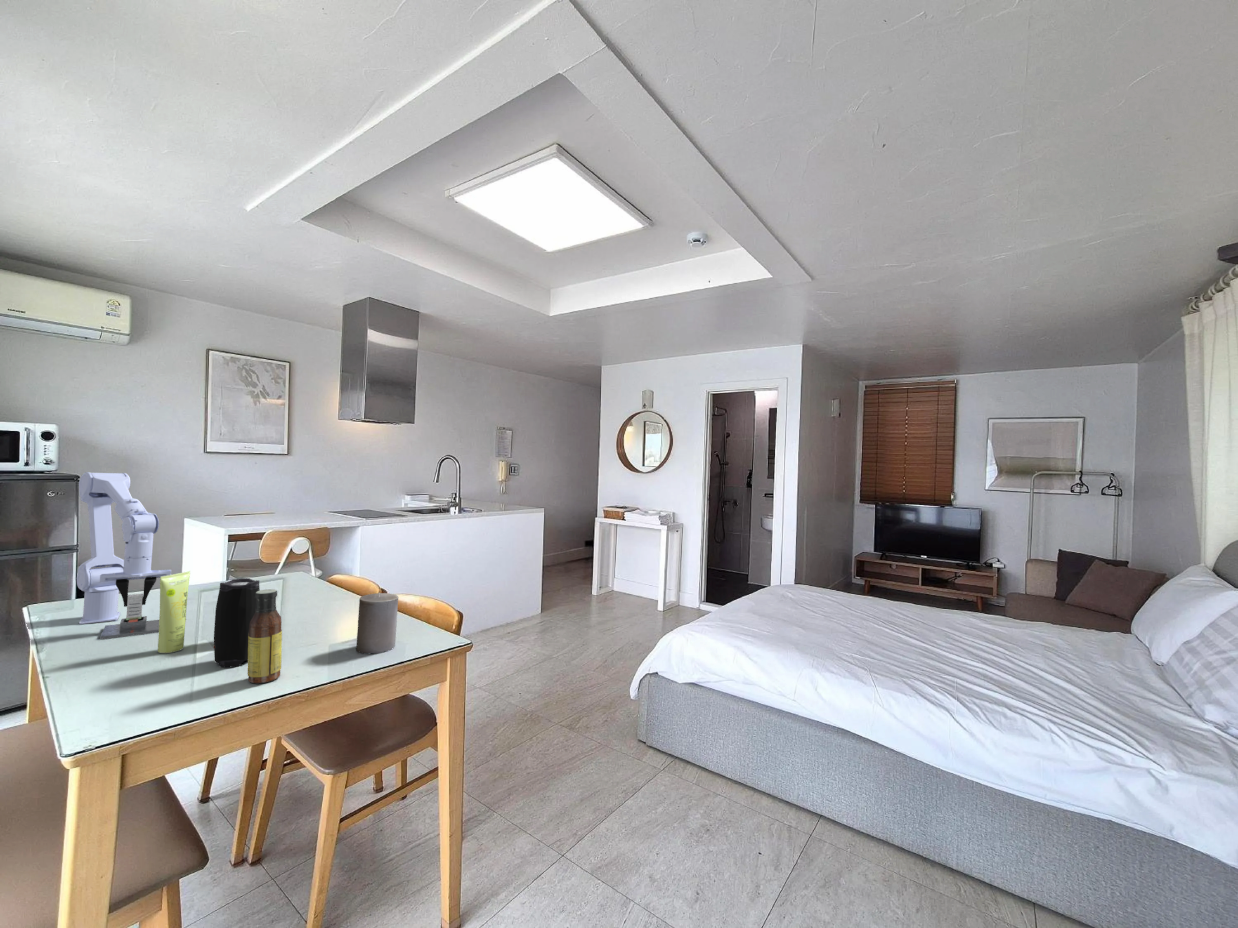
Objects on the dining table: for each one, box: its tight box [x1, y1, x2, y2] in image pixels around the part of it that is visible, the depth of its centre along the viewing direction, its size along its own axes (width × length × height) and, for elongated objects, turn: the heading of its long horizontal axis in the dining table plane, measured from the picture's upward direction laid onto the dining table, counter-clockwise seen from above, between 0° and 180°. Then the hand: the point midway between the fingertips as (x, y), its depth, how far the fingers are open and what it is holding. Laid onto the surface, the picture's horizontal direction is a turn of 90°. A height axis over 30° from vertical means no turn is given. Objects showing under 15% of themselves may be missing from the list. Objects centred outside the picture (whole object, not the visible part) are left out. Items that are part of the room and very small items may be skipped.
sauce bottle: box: [247, 588, 283, 685], centre depth 113 cm, size 7×6×20 cm
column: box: [125, 593, 144, 620], centre depth 142 cm, size 3×3×6 cm
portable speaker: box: [212, 577, 261, 668], centre depth 123 cm, size 9×9×20 cm
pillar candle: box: [355, 591, 399, 655], centre depth 136 cm, size 10×10×15 cm
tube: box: [157, 570, 191, 654], centre depth 128 cm, size 6×5×20 cm
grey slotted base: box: [100, 615, 159, 640], centre depth 142 cm, size 12×12×4 cm
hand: (134, 604), depth 143 cm, fingers closed on column, 3 cm apart
